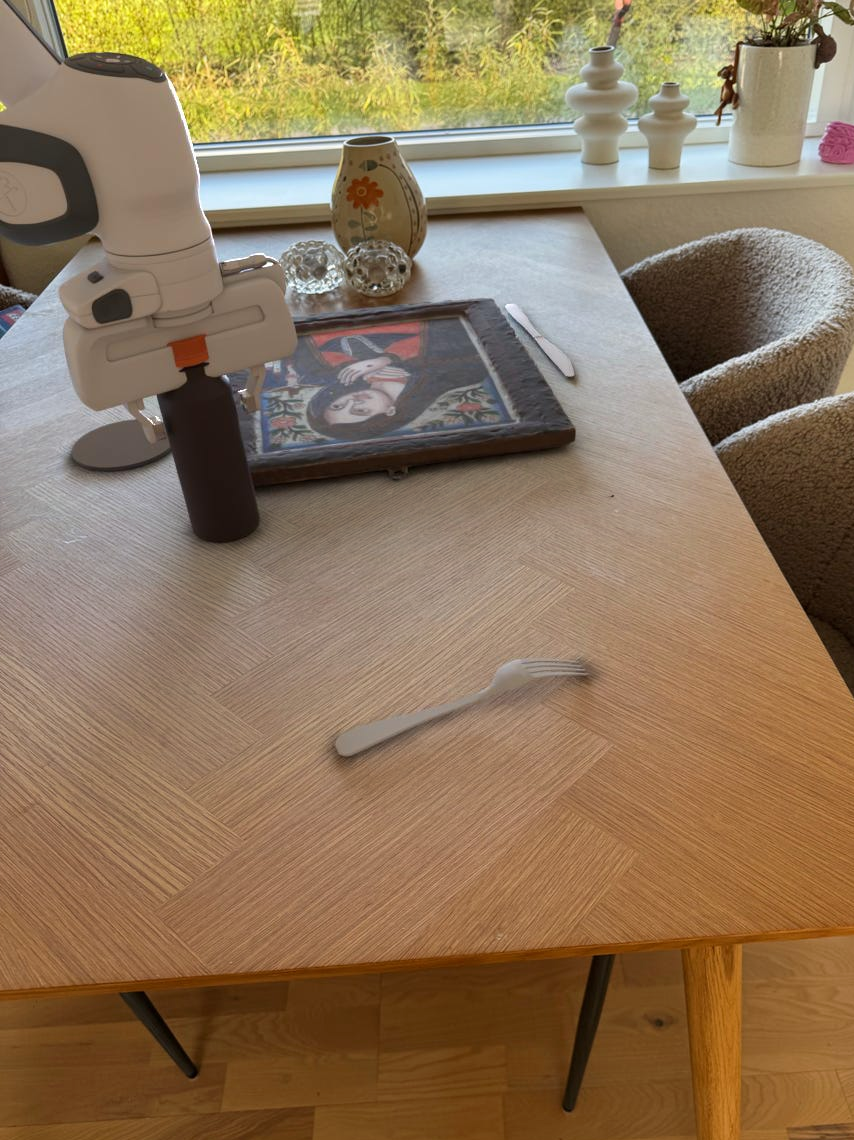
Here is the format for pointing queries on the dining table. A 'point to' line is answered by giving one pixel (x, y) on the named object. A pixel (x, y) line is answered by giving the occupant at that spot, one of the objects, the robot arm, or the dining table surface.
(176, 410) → the vinegar
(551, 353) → the butter knife
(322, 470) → the religious icon
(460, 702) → the fork
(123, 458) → the coaster
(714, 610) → the dining table surface
